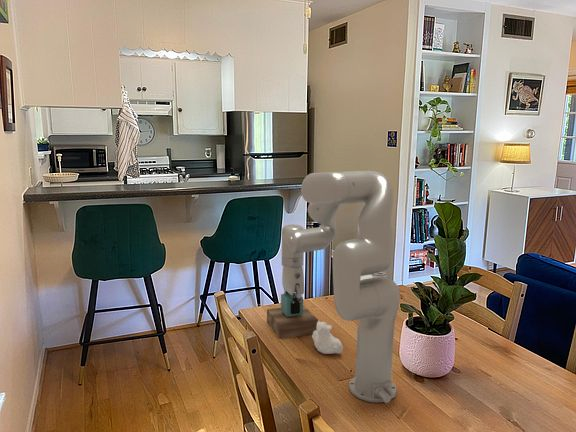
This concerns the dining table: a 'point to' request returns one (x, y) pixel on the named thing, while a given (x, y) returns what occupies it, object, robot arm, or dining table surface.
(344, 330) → the dining table surface
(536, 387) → the dining table surface
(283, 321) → the walnut block
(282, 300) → the teal cube
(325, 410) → the dining table surface
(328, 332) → the bust
